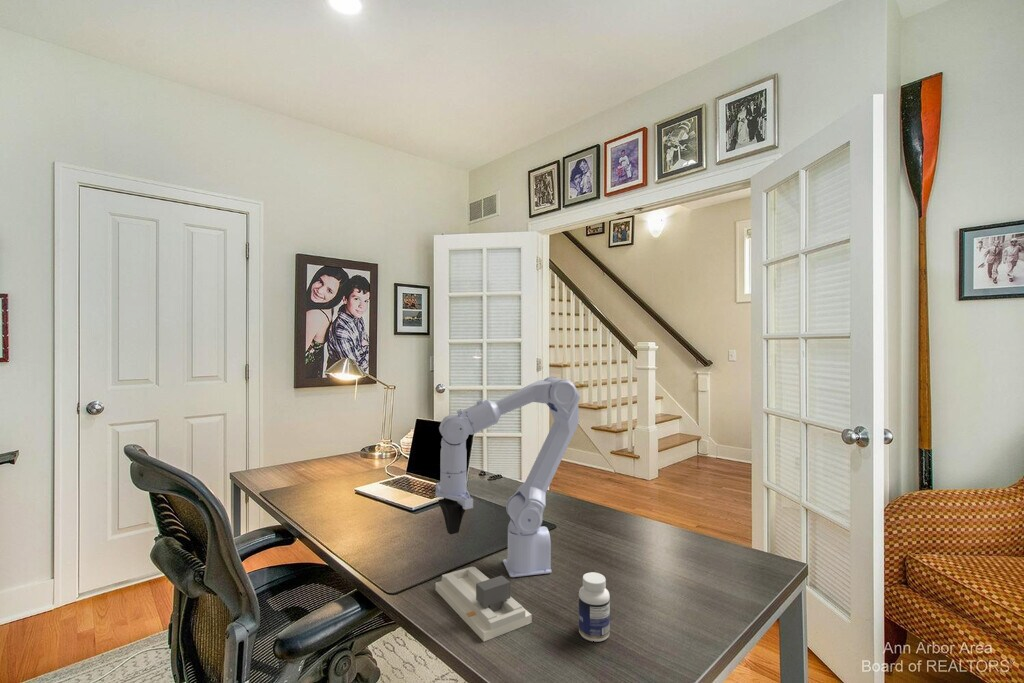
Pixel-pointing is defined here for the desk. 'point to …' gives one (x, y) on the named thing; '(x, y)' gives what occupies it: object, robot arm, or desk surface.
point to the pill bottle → (594, 608)
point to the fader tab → (493, 592)
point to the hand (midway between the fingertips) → (453, 532)
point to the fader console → (482, 620)
